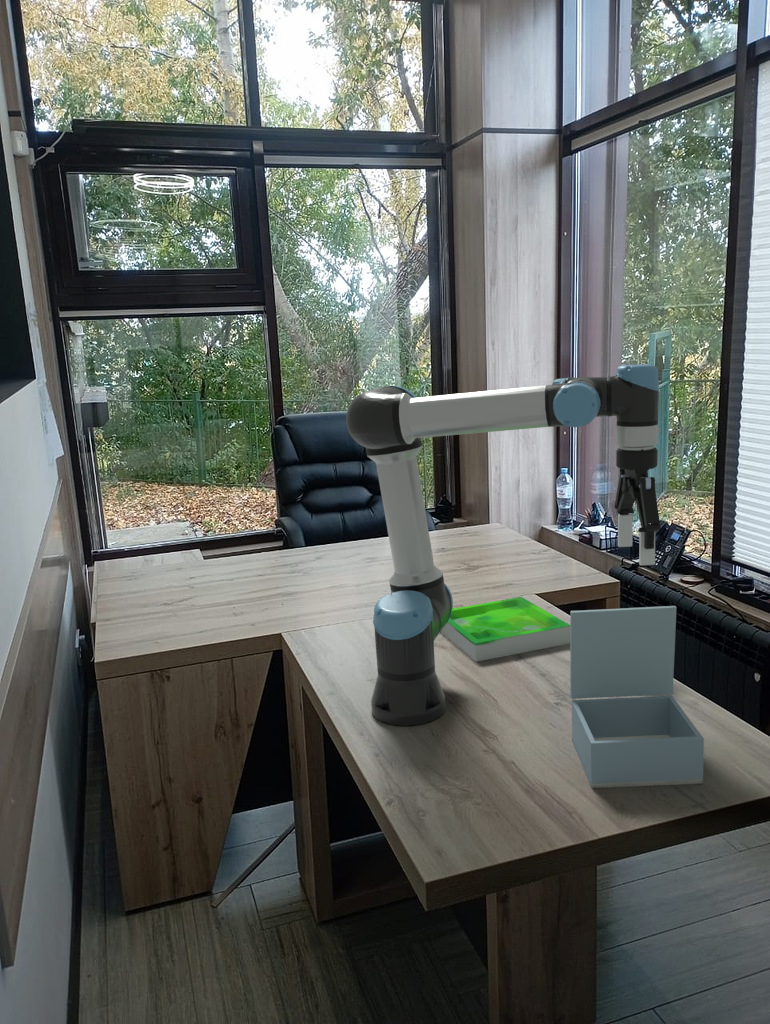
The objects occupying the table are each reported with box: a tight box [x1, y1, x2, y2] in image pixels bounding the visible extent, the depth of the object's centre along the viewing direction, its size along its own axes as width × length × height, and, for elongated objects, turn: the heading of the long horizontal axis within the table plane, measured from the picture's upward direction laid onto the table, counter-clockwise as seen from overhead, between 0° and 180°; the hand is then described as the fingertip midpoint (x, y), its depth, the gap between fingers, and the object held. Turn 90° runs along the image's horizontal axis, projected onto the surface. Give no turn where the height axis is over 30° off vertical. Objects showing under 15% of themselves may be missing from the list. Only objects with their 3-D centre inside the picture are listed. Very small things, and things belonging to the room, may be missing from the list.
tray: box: [440, 596, 570, 662], centre depth 202 cm, size 25×25×5 cm
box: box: [571, 695, 705, 789], centre depth 139 cm, size 18×16×8 cm
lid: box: [569, 605, 677, 700], centre depth 144 cm, size 18×17×1 cm
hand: (635, 555), depth 158 cm, fingers open, 13 cm apart
